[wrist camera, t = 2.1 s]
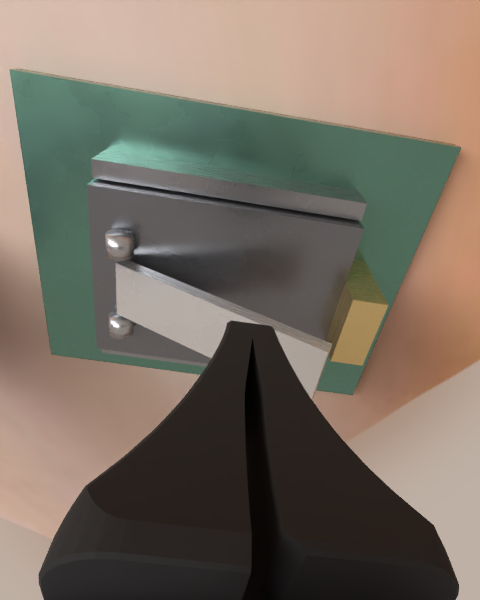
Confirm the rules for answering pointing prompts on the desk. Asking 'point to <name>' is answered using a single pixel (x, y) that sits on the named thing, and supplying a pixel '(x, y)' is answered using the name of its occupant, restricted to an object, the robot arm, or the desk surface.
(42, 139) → the circuit board
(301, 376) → the grey flat bar
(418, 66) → the desk surface
